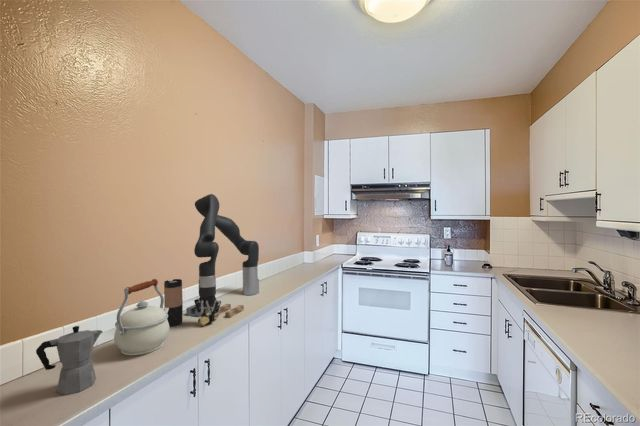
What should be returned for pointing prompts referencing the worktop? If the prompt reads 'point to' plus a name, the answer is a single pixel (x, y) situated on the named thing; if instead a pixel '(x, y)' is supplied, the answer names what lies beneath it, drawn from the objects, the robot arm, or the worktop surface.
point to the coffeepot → (72, 359)
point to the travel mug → (173, 301)
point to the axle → (206, 319)
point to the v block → (194, 311)
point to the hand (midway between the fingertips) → (207, 321)
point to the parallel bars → (230, 312)
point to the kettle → (141, 324)
